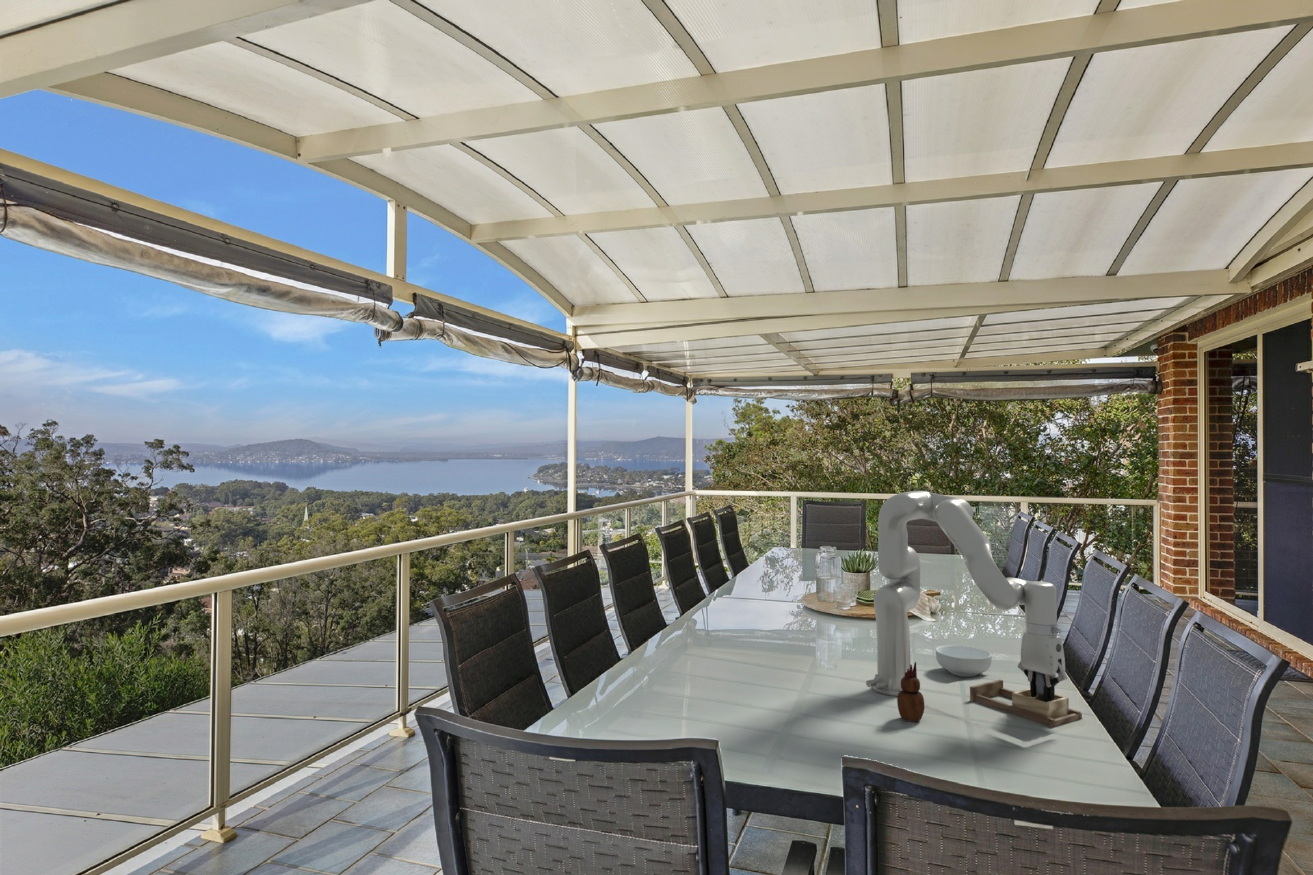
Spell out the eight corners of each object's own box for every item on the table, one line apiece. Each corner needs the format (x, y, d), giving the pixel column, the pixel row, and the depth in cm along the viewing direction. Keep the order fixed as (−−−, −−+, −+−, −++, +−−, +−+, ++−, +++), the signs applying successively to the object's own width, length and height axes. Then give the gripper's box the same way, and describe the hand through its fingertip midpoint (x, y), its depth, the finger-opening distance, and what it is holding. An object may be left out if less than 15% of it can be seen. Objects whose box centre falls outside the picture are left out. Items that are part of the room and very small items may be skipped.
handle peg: (1044, 713, 193) (1043, 674, 193) (1033, 709, 196) (1032, 671, 196) (1052, 711, 194) (1051, 673, 195) (1040, 707, 197) (1040, 670, 197)
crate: (1047, 723, 189) (1047, 703, 189) (1012, 711, 198) (1012, 692, 198) (1068, 717, 193) (1068, 697, 193) (1033, 705, 202) (1033, 687, 202)
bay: (1051, 732, 186) (1050, 712, 186) (970, 704, 207) (969, 686, 207) (1082, 723, 192) (1081, 703, 192) (1000, 697, 213) (1000, 679, 213)
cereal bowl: (998, 682, 227) (997, 659, 227) (941, 680, 230) (940, 657, 230) (985, 667, 243) (984, 645, 244) (932, 664, 247) (931, 643, 247)
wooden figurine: (919, 715, 199) (918, 659, 199) (927, 723, 193) (926, 665, 193) (894, 716, 198) (893, 660, 199) (902, 723, 193) (901, 666, 193)
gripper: (1079, 633, 190) (1081, 705, 190) (1021, 621, 204) (1023, 688, 204) (1062, 637, 186) (1063, 710, 186) (1004, 624, 201) (1005, 692, 200)
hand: (1042, 698), depth 195 cm, fingers closed on handle peg, 3 cm apart
